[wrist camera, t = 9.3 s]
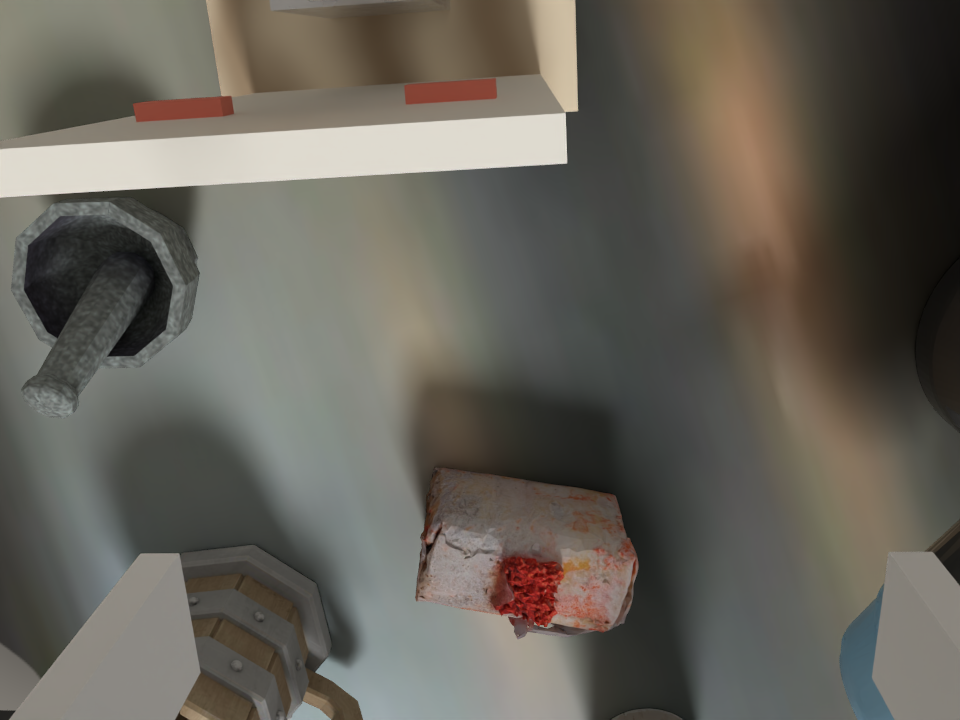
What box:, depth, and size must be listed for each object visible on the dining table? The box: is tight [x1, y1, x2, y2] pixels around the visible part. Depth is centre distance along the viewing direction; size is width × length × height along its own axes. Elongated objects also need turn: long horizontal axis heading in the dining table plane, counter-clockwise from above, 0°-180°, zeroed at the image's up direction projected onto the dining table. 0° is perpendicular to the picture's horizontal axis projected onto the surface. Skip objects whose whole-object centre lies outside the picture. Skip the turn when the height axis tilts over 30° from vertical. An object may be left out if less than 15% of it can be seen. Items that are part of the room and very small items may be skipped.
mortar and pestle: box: [11, 197, 200, 418], centre depth 49 cm, size 11×9×12 cm
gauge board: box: [0, 74, 567, 197], centre depth 35 cm, size 16×2×28 cm, turn 94°
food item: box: [415, 468, 639, 639], centre depth 55 cm, size 14×8×10 cm, turn 82°
